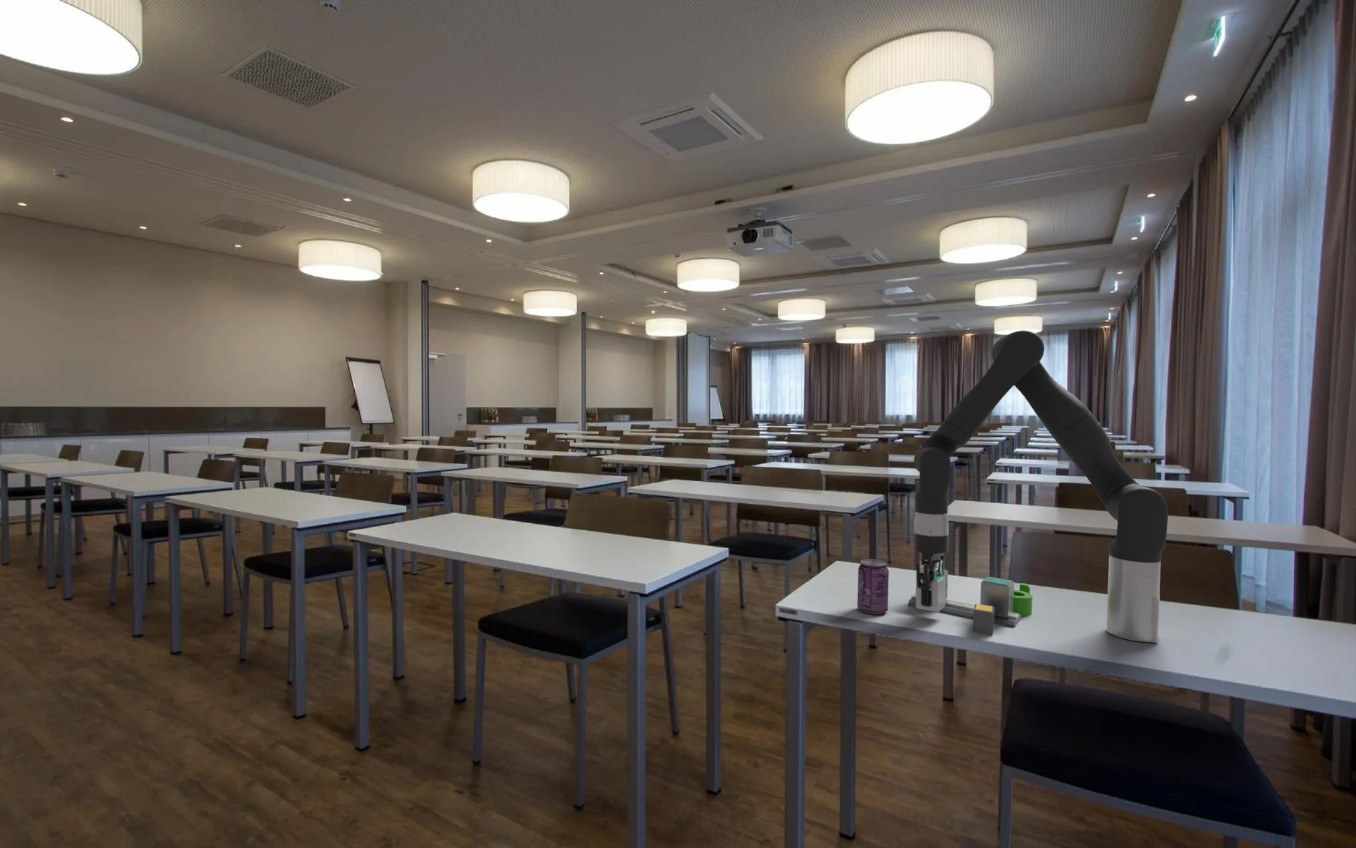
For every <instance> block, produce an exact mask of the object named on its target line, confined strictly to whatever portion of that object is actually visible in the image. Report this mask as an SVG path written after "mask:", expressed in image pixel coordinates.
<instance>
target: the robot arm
mask: <svg viewBox="0 0 1356 848" xmlns="http://www.w3.org/2000/svg"><path fill="white" fill-rule="evenodd" d="M1044 353H1045V344H1044V342H1043V339H1042V338H1041V337H1040V335H1039V334H1037V333H1036V332H1033V331H1031V330H1016V331H1013V332H1010V333H1008V334H1007V335H1004V336H1003V337H1000V338H999V339H998V340H997V341H996V342H995V343H994V344H993V346H992V350H991V359H992V364H991V365H990V367H989V368H988V370H987V371H986V373H985V374H984V375H983V376H982V377H981V379H980V380H979V381H978V382H977V383H976V384H975V385H974V386H973V387H972V388H971V390H969V391H968V392H967V393H966V395H964V396H963V398H962V399H960V400H959V402H958V403H957V404H956V405H955V406H954V408H953V409H951V411H950V412H949V413H948V415H947V416H946V417H945V419H944V420H943V421H942V423H941V424H940V425H939V427H938V428H937V430H935V432H934V433H932V434H931V435H930V436H929V437H928V438H927V439H926V440H925V441H924V443H922V445H921V446H919V448H918V450H917V451H916V452H915V454H914V457H913V465H914V467H915V469H916V470H917V471H918V473H919V481H918V482H919V483H918V485H919V486H918V488H917V489H916V492H915V514H914V523H913V524H914V526H913V530H914V531H913V533H914V534H913V535H914V536H913V549H914V550H915V552H918V553H920V554H921V559H920V561H919V563H916V565H915V567H916V568H915V569H916V570H915V571H917V587H918V588H920V589H921V604H922V605H923V606H927V607H930V606H931V605H932V582H933V581H935V580H936V575H939V576H943V577H944V569H945V561H946V560H945V559H946V557H945V555H947V553H948V552H949V542H950V541H949V537H950V536H949V533H950V532H949V531H950V530H949V527H950V526H949V515H948V513H949V512H948V510H949V509H948V506H949V505H948V503H949V501H948V500H949V499H948V497H949V496H948V493H949V488H950V483H951V482H950V481H951V476H952V461H951V457H952V456H953V455H954V454H955V452H956V451H957V450H958V449H961V448H962V447H964V446H965V445H966V444H968V442H969V441H970V439H971V438H972V437H973V436H974V435H975V434H976V433H977V432H978V430H979V428H980V427H981V426H982V425H983V423H985V421H986V419H987V418H988V417H989V415H990V414H991V413H992V412H993V410H994V409H995V408H996V407H997V405H998V404H999V402H1001V400H1002V399H1003V398H1004V397H1005V396H1006V394H1008V392H1009V391H1010V390H1011V389H1012V388H1013V387H1015V388H1016V389H1017V390H1018V392H1020V394H1021V395H1022V396H1023V397H1024V398H1025V400H1026V401H1027V403H1028V404H1029V406H1030V407H1031V409H1032V410H1033V412H1034V413H1035V414H1036V415H1037V417H1038V418H1039V420H1040V421H1041V422H1042V424H1043V425H1044V426H1045V428H1046V430H1047V431H1048V433H1049V434H1050V436H1051V437H1052V438H1053V439H1054V440H1055V442H1056V443H1057V444H1058V446H1059V447H1060V448H1061V449H1062V450H1063V452H1064V453H1065V454H1066V455H1067V457H1068V458H1069V459H1070V460H1071V461H1072V463H1074V465H1075V466H1076V467H1077V469H1079V470H1080V471H1081V472H1082V474H1083V475H1084V476H1085V477H1086V478H1087V480H1088V481H1089V483H1090V484H1091V486H1092V487H1093V489H1094V491H1095V492H1096V494H1097V496H1098V497H1099V499H1100V501H1101V502H1102V504H1103V506H1104V508H1105V509H1106V511H1107V513H1109V515H1110V516H1111V517H1112V518H1113V519H1114V520H1115V521H1117V526H1116V535H1115V538H1114V540H1113V541H1111V542H1110V544H1109V549H1108V552H1109V553H1108V554H1109V555H1108V577H1107V578H1108V579H1107V580H1108V581H1107V602H1106V603H1107V605H1106V609H1107V610H1106V631H1107V633H1109V634H1111V635H1113V636H1116V637H1118V638H1121V639H1125V640H1128V641H1134V642H1141V643H1142V642H1143V643H1154V644H1158V643H1159V642H1158V641H1159V627H1160V626H1159V625H1160V598H1161V596H1160V595H1161V594H1160V593H1161V592H1160V590H1161V589H1160V588H1161V586H1160V585H1161V562H1162V554H1163V552H1164V550H1165V547H1166V544H1167V543H1166V542H1167V535H1168V534H1167V533H1168V522H1169V509H1168V504H1167V501H1166V499H1165V497H1164V495H1162V494H1161V493H1160V492H1158V491H1157V490H1155V489H1152V488H1150V487H1148V486H1147V487H1145V486H1143V485H1140V483H1138V482H1137V481H1136V480H1135V479H1134V478H1133V477H1132V475H1130V474H1129V473H1128V472H1127V471H1126V469H1125V468H1124V467H1123V466H1122V464H1121V463H1120V461H1119V460H1118V459H1117V457H1116V454H1115V453H1114V451H1113V448H1112V445H1111V443H1110V440H1109V438H1108V435H1107V432H1105V429H1104V428H1103V426H1102V425H1101V423H1100V422H1099V421H1098V419H1097V418H1096V417H1095V415H1094V414H1093V413H1092V412H1091V411H1090V409H1089V408H1088V407H1087V406H1086V404H1085V403H1083V402H1082V401H1081V400H1080V399H1079V398H1078V397H1076V395H1074V394H1073V393H1071V392H1070V391H1069V390H1067V389H1066V388H1065V387H1064V386H1062V385H1061V384H1059V383H1058V382H1057V381H1056V380H1055V379H1054V378H1053V377H1052V376H1051V375H1050V373H1049V372H1048V371H1047V369H1046V368H1045V367H1044V365H1043V364H1042V362H1041V360H1042V359H1043V356H1044ZM944 554H945V555H944ZM929 576H931V577H929ZM924 580H925V581H926V584H924Z"/></svg>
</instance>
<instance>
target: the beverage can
mask: <svg viewBox="0 0 1356 848" xmlns="http://www.w3.org/2000/svg"><path fill="white" fill-rule="evenodd" d="M887 565H888V564H887V562H886V561H883V560H880V559H871V558H869V559H867V558H866V559H861V560H860V564H859V566H858V571H857V598H856V599H857V609H858V610H860V611H861V612H863V613H864V614H869V615H882V614H883V613H886V612H887V611H888V610H889V577H890V574H889V573H890V570H889V569H888V566H887Z"/></svg>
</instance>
